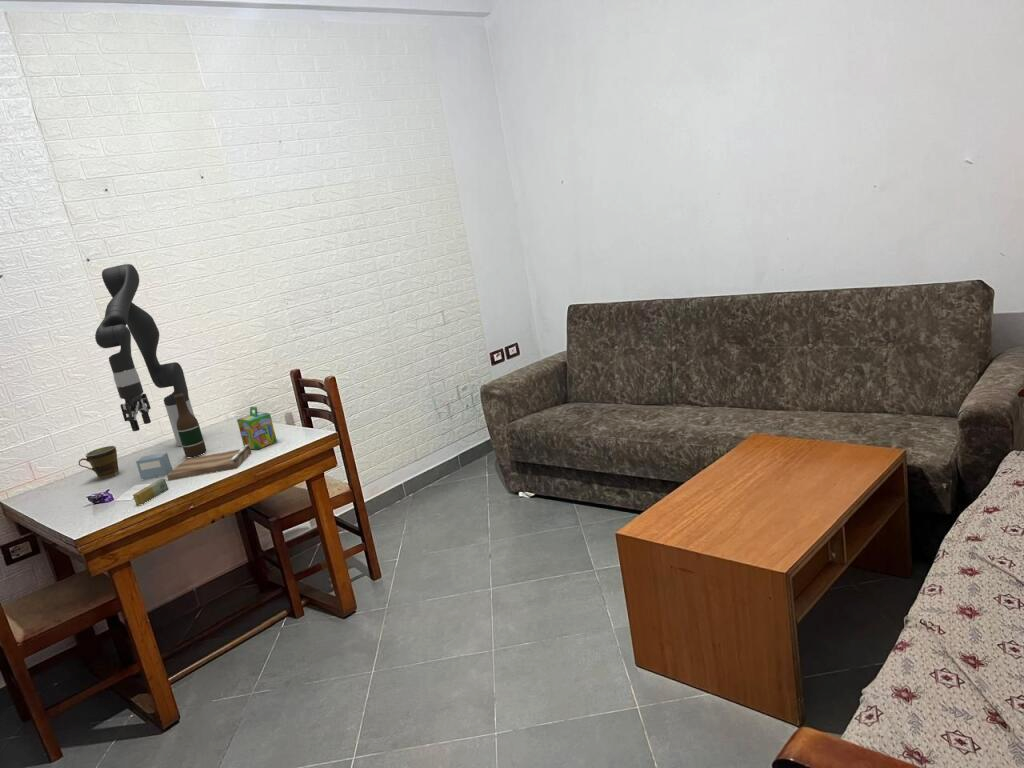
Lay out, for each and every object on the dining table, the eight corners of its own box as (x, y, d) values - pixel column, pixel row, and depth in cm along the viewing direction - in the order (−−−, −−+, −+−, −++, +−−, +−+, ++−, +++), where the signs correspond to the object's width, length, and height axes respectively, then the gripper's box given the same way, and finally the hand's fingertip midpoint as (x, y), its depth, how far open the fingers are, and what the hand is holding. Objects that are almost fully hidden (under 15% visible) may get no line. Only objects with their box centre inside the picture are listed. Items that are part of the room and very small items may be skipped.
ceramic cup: (118, 469, 277) (110, 444, 275) (127, 472, 270) (119, 447, 268) (81, 482, 269) (73, 456, 266) (89, 486, 262) (80, 460, 259)
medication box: (162, 490, 243) (159, 479, 242) (169, 489, 242) (165, 478, 241) (135, 506, 232) (131, 494, 231) (142, 505, 231) (138, 493, 230)
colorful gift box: (243, 448, 274) (233, 411, 270) (265, 439, 280) (255, 403, 277) (256, 450, 268) (246, 412, 264) (278, 441, 274) (268, 404, 271)
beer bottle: (211, 449, 281) (193, 390, 275) (200, 456, 273) (182, 395, 268) (192, 452, 282) (174, 393, 276) (181, 459, 274) (163, 398, 269)
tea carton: (148, 474, 263) (142, 456, 261) (172, 470, 263) (167, 452, 261) (141, 480, 258) (135, 461, 256) (166, 475, 258) (160, 457, 256)
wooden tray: (187, 464, 267) (184, 456, 266) (251, 452, 266) (249, 444, 266) (168, 480, 251) (165, 471, 251) (236, 468, 251) (234, 459, 250)
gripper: (127, 379, 259) (141, 423, 263) (106, 389, 245) (121, 435, 249) (148, 376, 259) (161, 419, 263) (128, 386, 245) (143, 431, 249)
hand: (142, 427), depth 256 cm, fingers open, 8 cm apart
